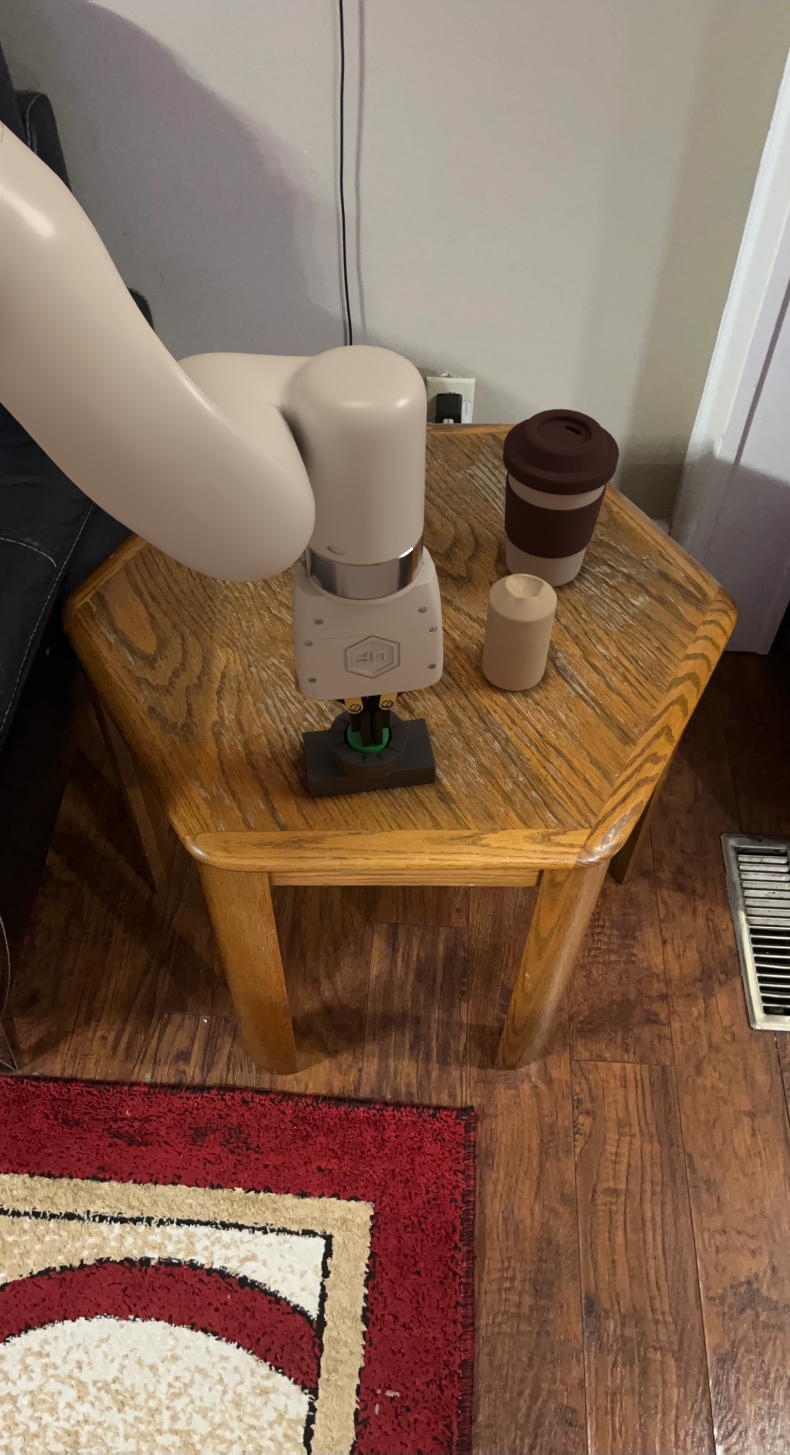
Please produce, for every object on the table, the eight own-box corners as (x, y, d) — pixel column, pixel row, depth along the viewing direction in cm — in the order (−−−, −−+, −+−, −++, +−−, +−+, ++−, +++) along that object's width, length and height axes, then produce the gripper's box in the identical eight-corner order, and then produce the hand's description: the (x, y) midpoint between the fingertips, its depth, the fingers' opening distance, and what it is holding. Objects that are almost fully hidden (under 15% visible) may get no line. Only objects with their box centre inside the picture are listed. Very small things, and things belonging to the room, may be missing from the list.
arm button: (350, 764, 76) (349, 750, 75) (345, 733, 78) (344, 718, 77) (391, 759, 76) (391, 745, 75) (385, 728, 78) (385, 714, 77)
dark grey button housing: (310, 803, 77) (307, 773, 74) (303, 743, 80) (300, 712, 77) (436, 788, 78) (438, 757, 75) (423, 729, 81) (424, 698, 78)
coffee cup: (509, 607, 91) (527, 472, 79) (478, 539, 97) (491, 405, 85) (609, 590, 92) (641, 455, 81) (573, 525, 98) (597, 391, 87)
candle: (544, 648, 88) (559, 563, 80) (544, 694, 84) (559, 609, 76) (482, 644, 88) (491, 558, 80) (480, 689, 84) (489, 604, 77)
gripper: (248, 602, 59) (277, 782, 73) (492, 575, 60) (474, 758, 74) (241, 522, 63) (270, 706, 77) (468, 500, 65) (455, 685, 79)
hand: (370, 731), depth 76 cm, fingers closed
